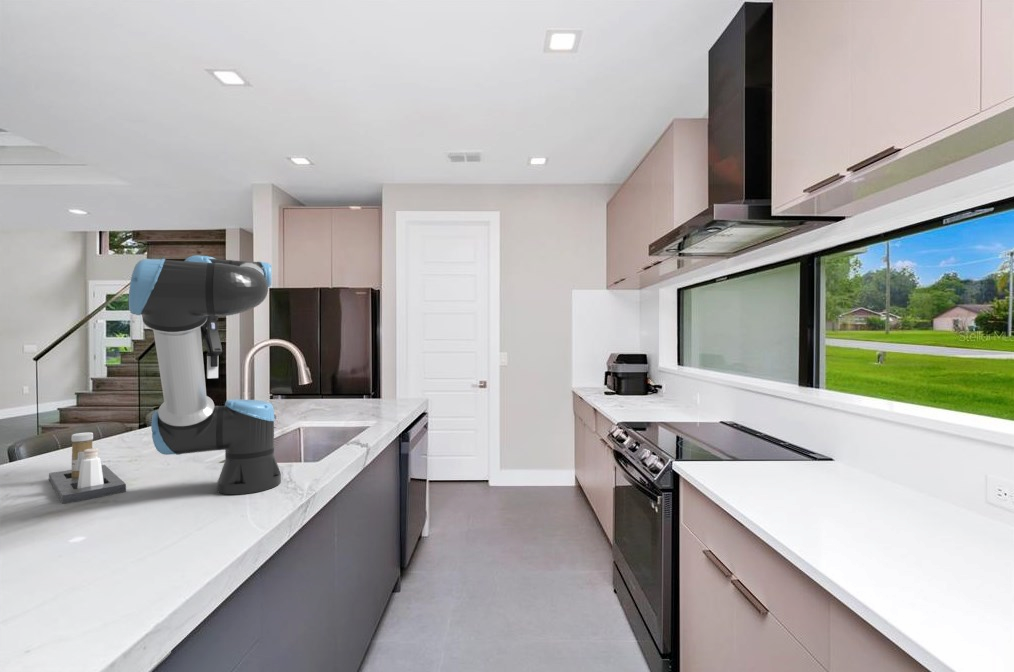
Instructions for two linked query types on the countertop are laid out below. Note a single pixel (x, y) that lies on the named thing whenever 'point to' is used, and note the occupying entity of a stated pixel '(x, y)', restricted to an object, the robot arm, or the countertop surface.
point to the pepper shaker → (90, 469)
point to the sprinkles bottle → (79, 450)
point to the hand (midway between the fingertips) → (202, 377)
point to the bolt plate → (70, 493)
